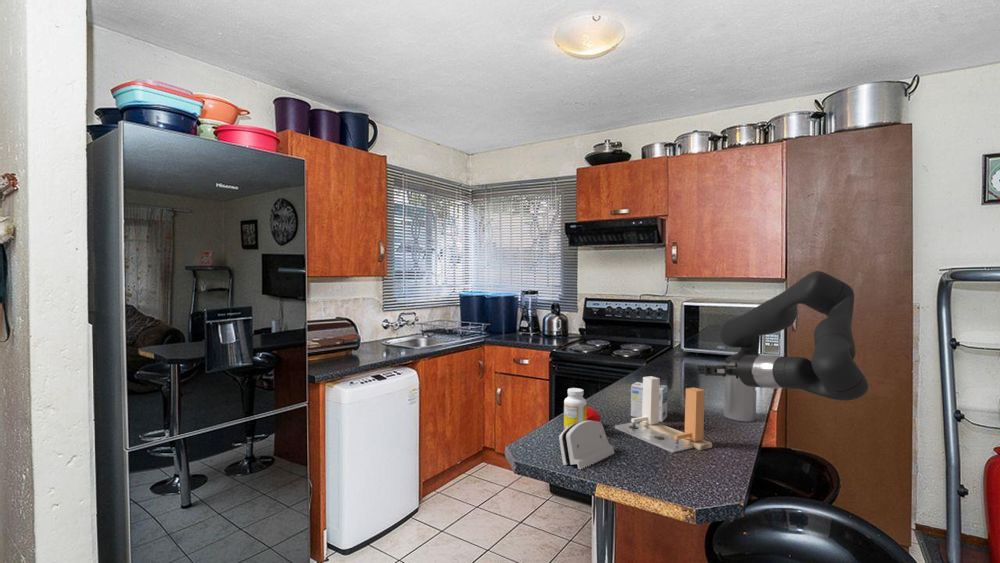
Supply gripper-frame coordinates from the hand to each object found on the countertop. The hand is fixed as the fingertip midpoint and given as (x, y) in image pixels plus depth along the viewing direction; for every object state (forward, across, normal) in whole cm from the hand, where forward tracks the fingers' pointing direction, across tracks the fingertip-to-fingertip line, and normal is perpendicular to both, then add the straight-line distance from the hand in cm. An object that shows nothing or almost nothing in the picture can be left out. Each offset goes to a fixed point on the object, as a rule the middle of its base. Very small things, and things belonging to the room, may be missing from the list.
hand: (710, 369), depth 122 cm
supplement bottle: (+29, +25, +19) cm, 43 cm away
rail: (+17, -2, +20) cm, 26 cm away
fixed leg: (+25, +2, +18) cm, 31 cm away
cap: (+33, +18, +18) cm, 42 cm away
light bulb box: (+35, -7, +17) cm, 40 cm away
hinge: (+12, +32, +22) cm, 41 cm away
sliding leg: (+10, 0, +20) cm, 22 cm away
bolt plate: (+18, +6, +20) cm, 28 cm away
